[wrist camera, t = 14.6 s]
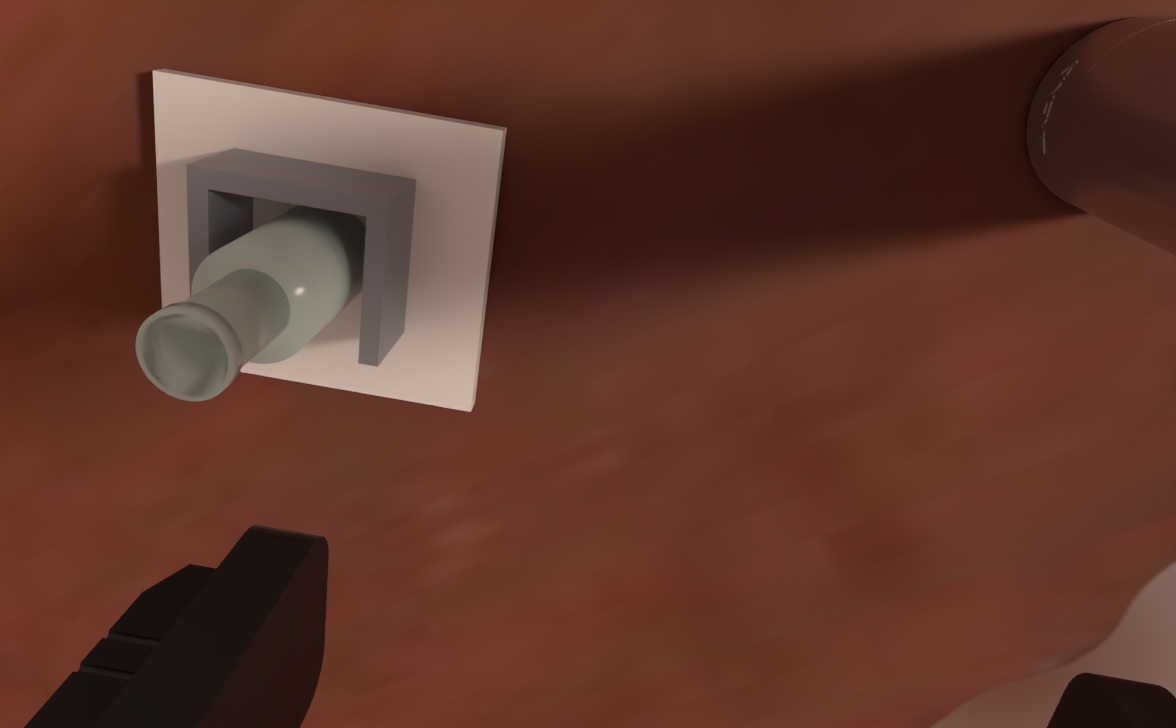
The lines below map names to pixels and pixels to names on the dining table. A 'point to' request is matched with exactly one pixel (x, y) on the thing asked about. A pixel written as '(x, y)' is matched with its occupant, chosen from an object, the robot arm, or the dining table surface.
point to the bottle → (255, 302)
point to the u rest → (350, 185)
